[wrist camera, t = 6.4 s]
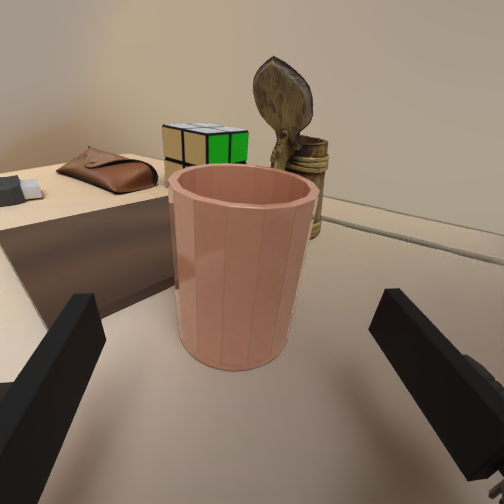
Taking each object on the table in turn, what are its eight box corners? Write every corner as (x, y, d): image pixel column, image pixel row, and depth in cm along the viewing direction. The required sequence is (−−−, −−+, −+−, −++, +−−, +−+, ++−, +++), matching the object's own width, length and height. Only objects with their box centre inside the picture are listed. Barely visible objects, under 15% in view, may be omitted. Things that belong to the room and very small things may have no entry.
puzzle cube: (206, 177, 54) (205, 122, 49) (246, 189, 50) (250, 130, 45) (165, 187, 47) (160, 124, 42) (207, 202, 42) (207, 133, 37)
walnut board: (255, 247, 31) (256, 240, 31) (53, 341, 18) (48, 330, 18) (168, 202, 41) (167, 195, 41) (-3, 240, 28) (-7, 231, 28)
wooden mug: (221, 238, 33) (227, 54, 24) (275, 208, 43) (293, 71, 34) (288, 264, 29) (324, 56, 20) (329, 224, 39) (366, 75, 30)
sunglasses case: (50, 170, 48) (61, 134, 48) (87, 183, 55) (97, 151, 55) (117, 193, 41) (131, 151, 41) (151, 205, 48) (163, 168, 47)
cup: (309, 326, 21) (345, 187, 16) (233, 397, 16) (246, 223, 10) (236, 278, 26) (243, 158, 20) (157, 321, 20) (138, 172, 15)
